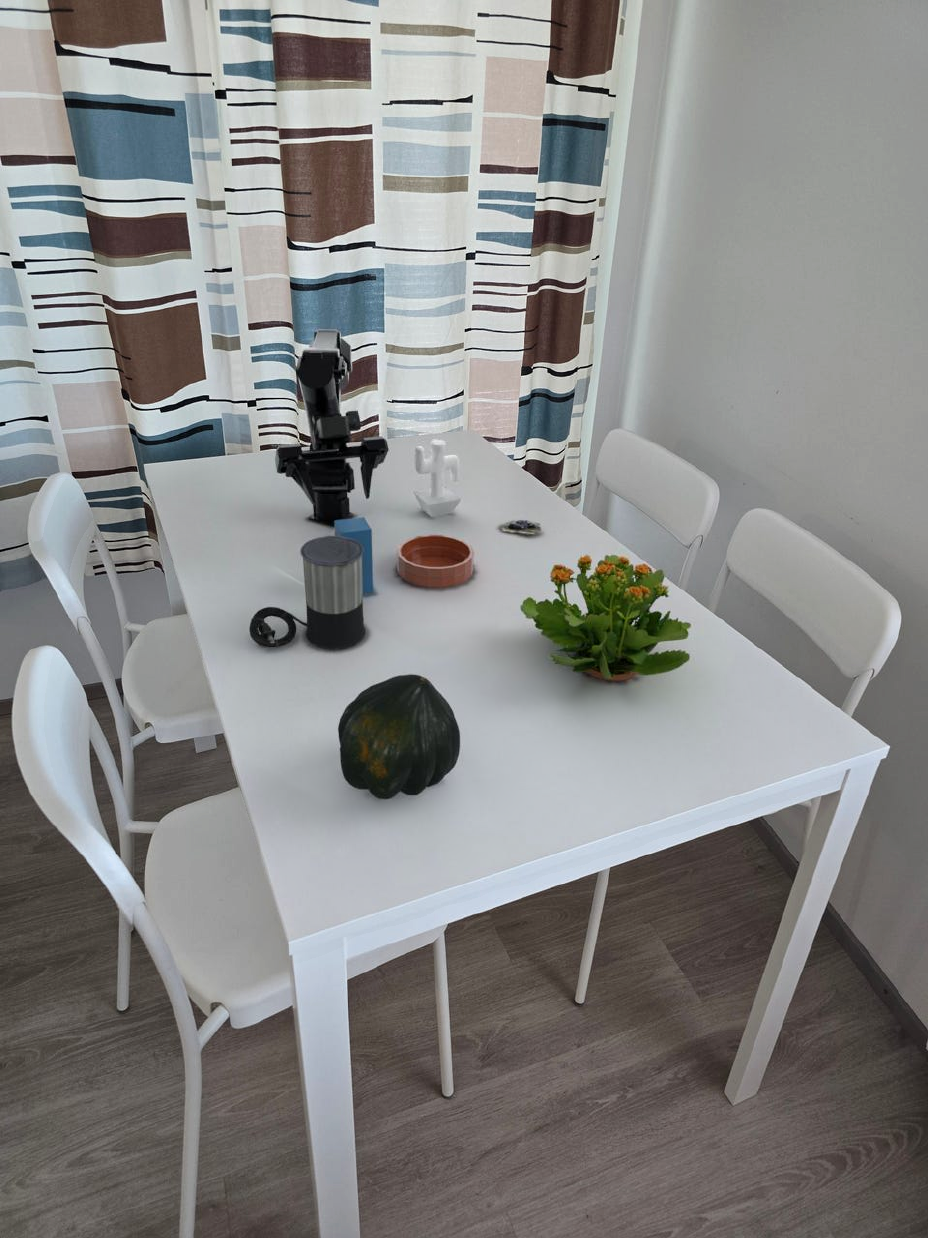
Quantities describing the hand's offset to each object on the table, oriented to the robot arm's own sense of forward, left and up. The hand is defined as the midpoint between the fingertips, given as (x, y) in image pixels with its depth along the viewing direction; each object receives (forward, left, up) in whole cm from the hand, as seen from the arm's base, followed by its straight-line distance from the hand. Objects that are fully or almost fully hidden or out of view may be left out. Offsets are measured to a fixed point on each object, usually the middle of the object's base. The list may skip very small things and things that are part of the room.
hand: (341, 500), depth 144 cm
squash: (+38, -40, -13) cm, 57 cm away
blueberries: (+19, +32, -13) cm, 40 cm away
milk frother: (+9, -21, -13) cm, 26 cm away
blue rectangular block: (+6, -5, -13) cm, 15 cm away
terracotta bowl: (+14, +8, -13) cm, 21 cm away
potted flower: (+52, -3, -13) cm, 54 cm away
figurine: (+1, +30, -13) cm, 33 cm away
